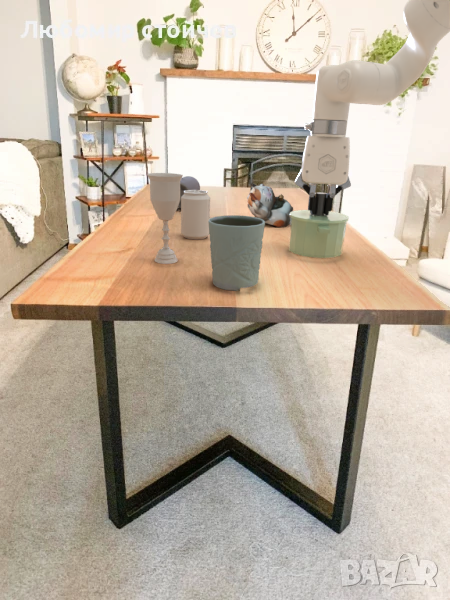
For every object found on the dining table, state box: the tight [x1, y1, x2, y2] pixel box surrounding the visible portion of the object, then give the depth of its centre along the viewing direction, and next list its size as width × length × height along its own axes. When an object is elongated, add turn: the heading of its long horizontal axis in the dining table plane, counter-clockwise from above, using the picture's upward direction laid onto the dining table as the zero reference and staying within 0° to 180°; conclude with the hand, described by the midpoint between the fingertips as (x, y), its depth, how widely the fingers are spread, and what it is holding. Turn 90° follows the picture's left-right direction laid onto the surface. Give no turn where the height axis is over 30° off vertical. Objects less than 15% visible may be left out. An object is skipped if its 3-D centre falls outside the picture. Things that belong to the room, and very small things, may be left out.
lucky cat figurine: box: [246, 182, 294, 228], centre depth 135 cm, size 15×12×14 cm
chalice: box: [146, 172, 184, 265], centre depth 93 cm, size 7×7×18 cm
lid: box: [289, 191, 350, 224], centre depth 102 cm, size 14×14×6 cm
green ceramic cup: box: [208, 214, 266, 292], centre depth 81 cm, size 10×10×12 cm
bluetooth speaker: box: [177, 176, 201, 209], centre depth 160 cm, size 23×9×10 cm, turn 174°
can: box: [180, 189, 211, 240], centre depth 115 cm, size 8×8×12 cm
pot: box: [287, 218, 348, 259], centre depth 105 cm, size 13×18×8 cm
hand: (319, 213), depth 103 cm, fingers closed on lid, 2 cm apart
